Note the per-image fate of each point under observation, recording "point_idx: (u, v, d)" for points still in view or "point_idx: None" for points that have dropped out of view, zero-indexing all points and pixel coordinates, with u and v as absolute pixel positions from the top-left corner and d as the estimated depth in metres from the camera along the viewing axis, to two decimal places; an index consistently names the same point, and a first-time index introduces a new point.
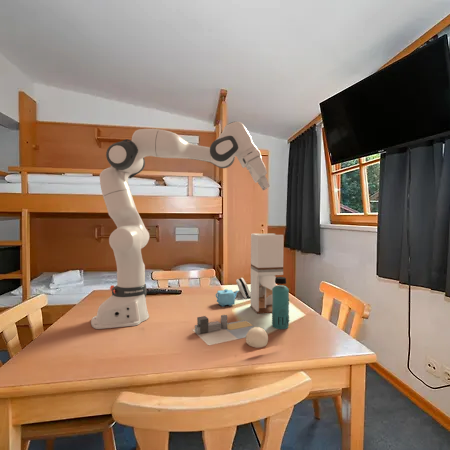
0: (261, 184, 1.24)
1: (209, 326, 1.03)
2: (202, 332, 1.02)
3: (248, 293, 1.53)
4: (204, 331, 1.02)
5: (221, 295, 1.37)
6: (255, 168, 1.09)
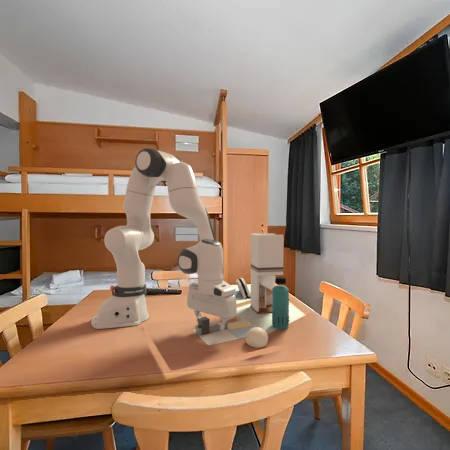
0: (198, 314, 1.05)
1: (210, 326, 1.03)
2: (203, 333, 1.01)
3: (248, 293, 1.53)
4: (205, 332, 1.01)
5: None
6: (230, 309, 0.94)
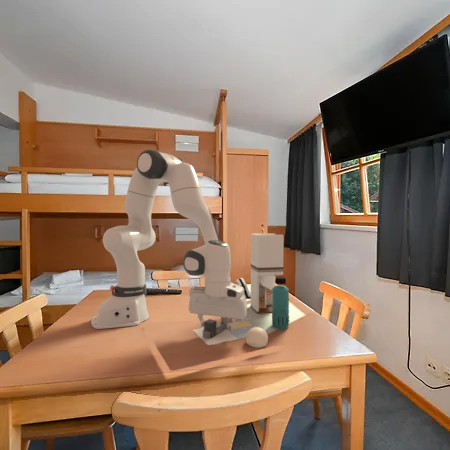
0: (201, 318, 1.01)
1: (216, 328, 1.01)
2: (212, 335, 0.99)
3: (248, 293, 1.52)
4: (213, 334, 0.99)
5: None
6: (244, 308, 0.95)
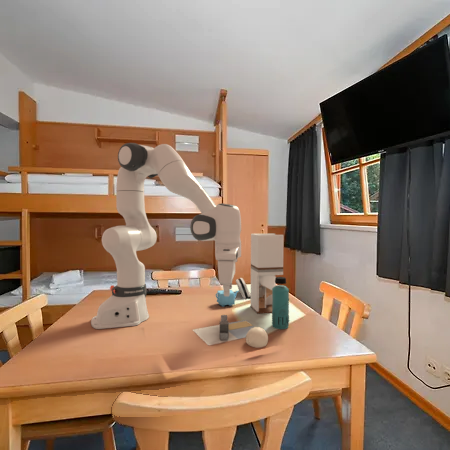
0: None
1: None
2: (228, 336, 0.98)
3: (247, 293, 1.52)
4: None
5: (221, 295, 1.37)
6: (220, 273, 0.89)
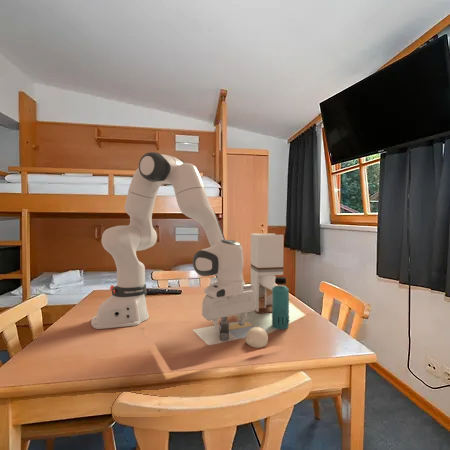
0: (242, 316, 1.02)
1: None
2: (228, 336, 0.98)
3: None
4: None
5: None
6: (202, 307, 0.95)
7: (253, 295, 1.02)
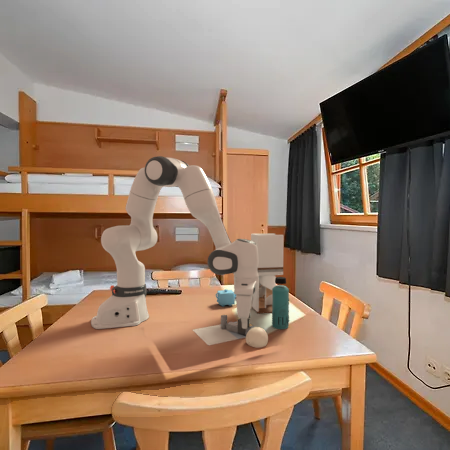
0: None
1: None
2: None
3: None
4: None
5: (221, 295, 1.37)
6: (238, 307, 0.95)
7: None
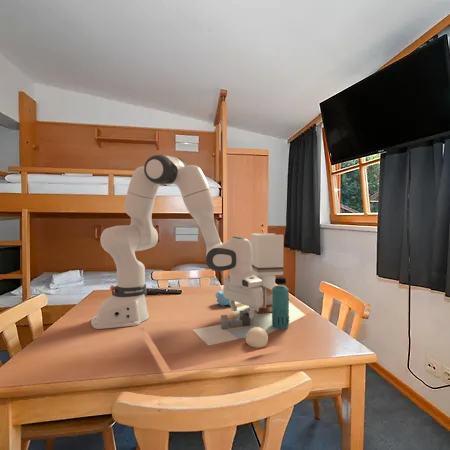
0: (232, 303, 1.17)
1: None
2: None
3: None
4: None
5: (221, 295, 1.37)
6: (256, 298, 1.04)
7: None
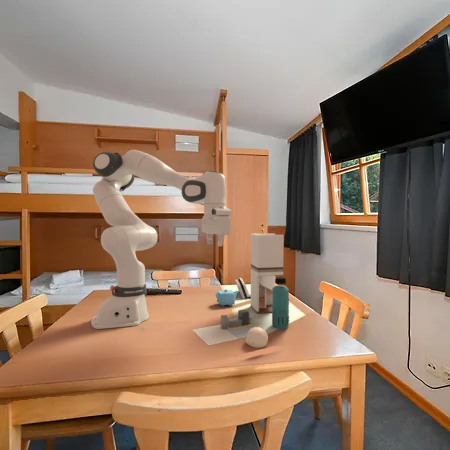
0: (209, 237, 1.23)
1: None
2: None
3: (246, 293, 1.52)
4: None
5: (221, 295, 1.37)
6: (222, 225, 1.09)
7: None
